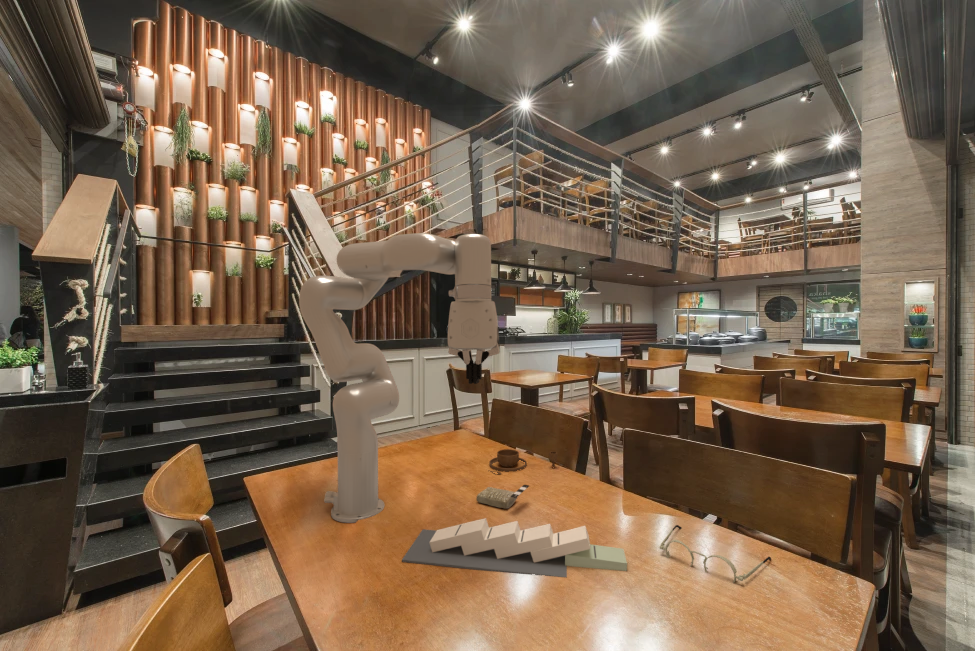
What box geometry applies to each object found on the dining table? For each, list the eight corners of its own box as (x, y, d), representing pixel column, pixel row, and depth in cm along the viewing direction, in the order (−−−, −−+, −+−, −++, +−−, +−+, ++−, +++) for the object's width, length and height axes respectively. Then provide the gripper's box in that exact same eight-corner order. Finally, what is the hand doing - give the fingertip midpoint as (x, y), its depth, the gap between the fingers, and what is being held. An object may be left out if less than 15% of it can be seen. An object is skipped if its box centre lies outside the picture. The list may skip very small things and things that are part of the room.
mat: (401, 561, 80) (401, 559, 80) (422, 531, 92) (422, 529, 92) (566, 579, 74) (566, 577, 74) (566, 544, 86) (566, 542, 86)
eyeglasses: (651, 558, 82) (651, 532, 81) (682, 531, 92) (682, 508, 92) (751, 599, 69) (751, 569, 69) (774, 563, 80) (774, 536, 80)
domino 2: (461, 545, 81) (514, 532, 79) (467, 532, 86) (517, 520, 84) (464, 555, 81) (517, 543, 79) (470, 542, 86) (520, 530, 84)
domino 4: (530, 552, 79) (587, 538, 77) (532, 538, 84) (585, 525, 82) (533, 562, 78) (590, 549, 77) (535, 549, 83) (588, 535, 82)
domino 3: (494, 548, 80) (549, 536, 78) (498, 535, 85) (550, 523, 83) (497, 559, 80) (552, 546, 78) (501, 545, 85) (553, 533, 83)
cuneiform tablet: (515, 497, 99) (473, 487, 105) (516, 515, 99) (474, 505, 105) (529, 485, 105) (488, 477, 111) (530, 502, 105) (489, 493, 111)
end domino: (565, 551, 83) (623, 559, 80) (564, 565, 78) (626, 574, 76) (565, 540, 83) (623, 548, 80) (565, 554, 78) (626, 563, 76)
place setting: (512, 456, 144) (511, 439, 144) (560, 470, 130) (560, 452, 130) (476, 469, 132) (475, 451, 131) (525, 487, 118) (525, 466, 118)
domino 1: (429, 542, 82) (481, 529, 80) (436, 529, 87) (485, 517, 85) (432, 552, 82) (484, 540, 80) (439, 539, 87) (489, 527, 85)
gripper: (433, 294, 85) (434, 384, 85) (506, 292, 82) (506, 386, 82) (444, 296, 92) (444, 380, 92) (511, 295, 89) (512, 381, 89)
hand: (474, 382), depth 87 cm, fingers closed
